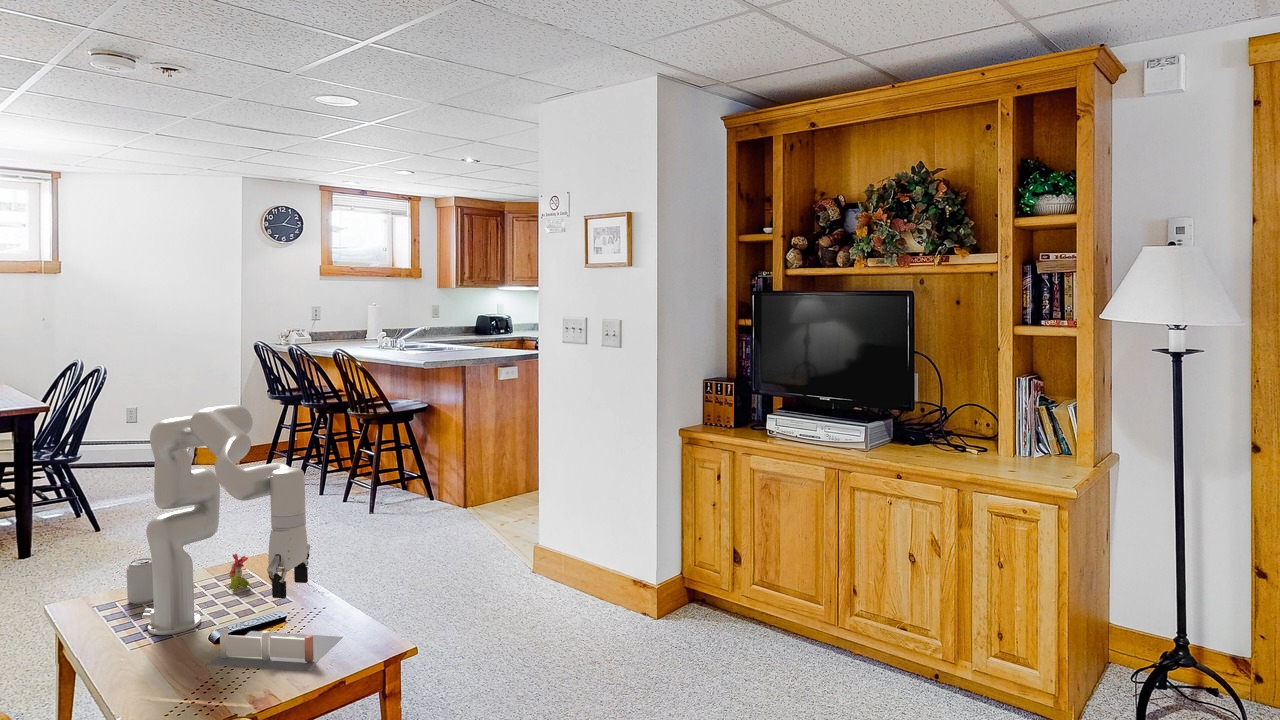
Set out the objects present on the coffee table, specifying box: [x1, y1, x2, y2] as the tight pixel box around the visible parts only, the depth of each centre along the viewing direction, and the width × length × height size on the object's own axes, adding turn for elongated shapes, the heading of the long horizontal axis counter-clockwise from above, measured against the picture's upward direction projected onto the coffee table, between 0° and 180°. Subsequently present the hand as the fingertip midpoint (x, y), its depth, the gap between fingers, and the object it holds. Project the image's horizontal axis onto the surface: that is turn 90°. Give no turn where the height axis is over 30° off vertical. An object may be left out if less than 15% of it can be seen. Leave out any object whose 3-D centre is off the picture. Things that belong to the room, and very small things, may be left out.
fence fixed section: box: [219, 627, 271, 661], centre depth 195 cm, size 13×2×7 cm, turn 85°
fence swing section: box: [270, 634, 314, 662], centre depth 194 cm, size 11×2×6 cm, turn 85°
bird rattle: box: [228, 553, 252, 592], centre depth 242 cm, size 6×11×9 cm
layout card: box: [205, 630, 344, 672], centre depth 200 cm, size 26×19×1 cm
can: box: [126, 557, 153, 605], centre depth 231 cm, size 8×8×12 cm
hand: (290, 589), depth 187 cm, fingers open, 9 cm apart
